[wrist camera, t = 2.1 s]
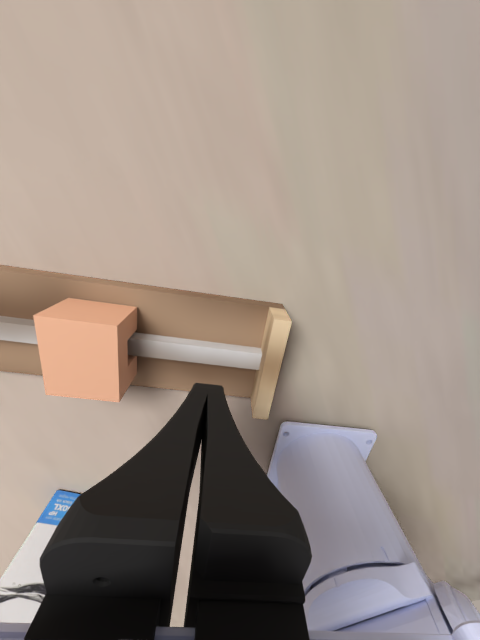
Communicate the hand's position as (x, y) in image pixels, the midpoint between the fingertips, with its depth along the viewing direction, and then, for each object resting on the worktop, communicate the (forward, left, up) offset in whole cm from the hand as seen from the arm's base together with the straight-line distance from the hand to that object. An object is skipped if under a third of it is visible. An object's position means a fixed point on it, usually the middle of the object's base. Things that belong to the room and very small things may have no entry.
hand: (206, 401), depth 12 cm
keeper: (0, +7, -5) cm, 9 cm away
